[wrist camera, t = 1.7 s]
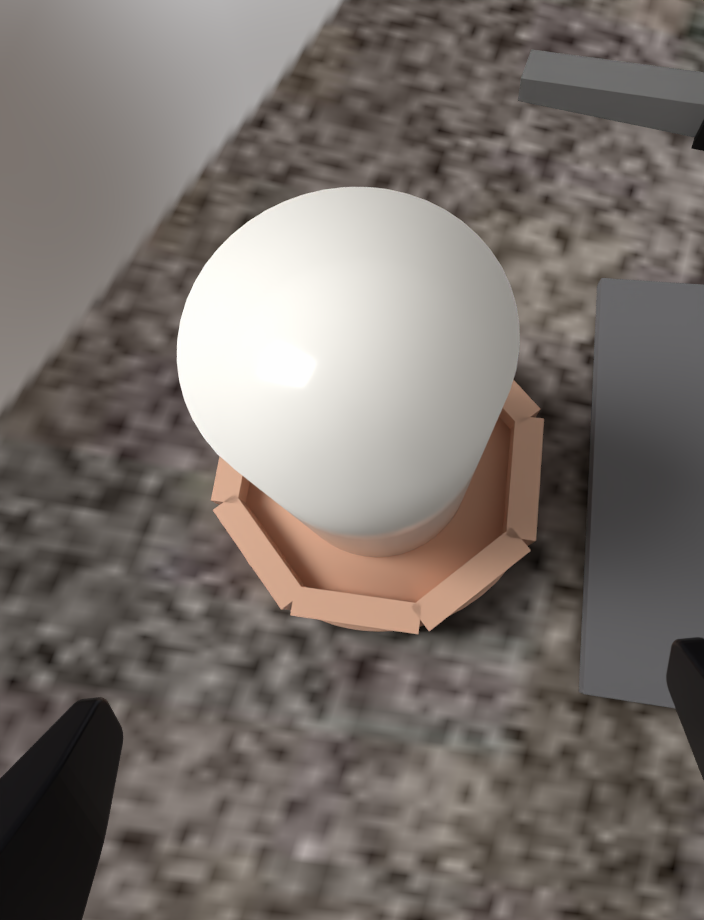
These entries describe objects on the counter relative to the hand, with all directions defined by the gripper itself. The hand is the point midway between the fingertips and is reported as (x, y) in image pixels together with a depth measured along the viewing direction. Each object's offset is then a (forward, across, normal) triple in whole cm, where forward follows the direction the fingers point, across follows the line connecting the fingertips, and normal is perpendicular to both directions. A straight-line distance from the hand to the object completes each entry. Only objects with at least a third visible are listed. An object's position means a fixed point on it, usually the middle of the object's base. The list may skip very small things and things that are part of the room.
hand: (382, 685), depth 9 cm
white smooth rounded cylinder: (+13, 0, +4) cm, 13 cm away
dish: (+14, 0, +4) cm, 14 cm away
